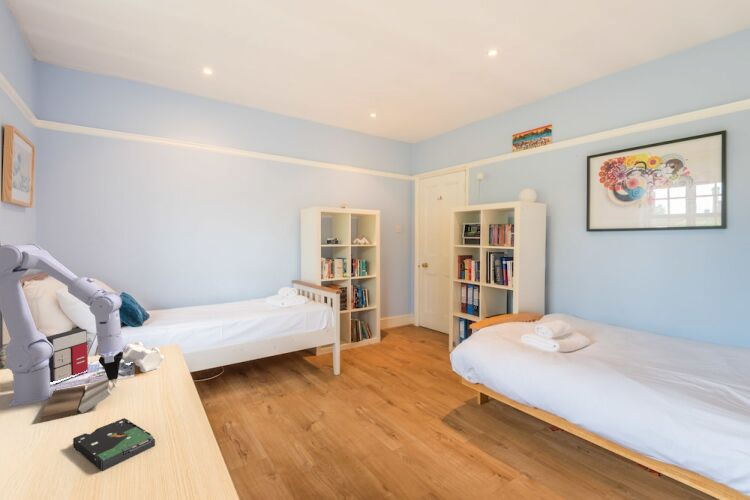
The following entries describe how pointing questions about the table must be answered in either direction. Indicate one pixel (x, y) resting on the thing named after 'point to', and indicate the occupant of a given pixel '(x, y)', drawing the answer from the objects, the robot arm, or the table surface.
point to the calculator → (68, 354)
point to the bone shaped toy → (142, 357)
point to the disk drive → (113, 443)
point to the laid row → (63, 404)
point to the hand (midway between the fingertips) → (113, 379)
